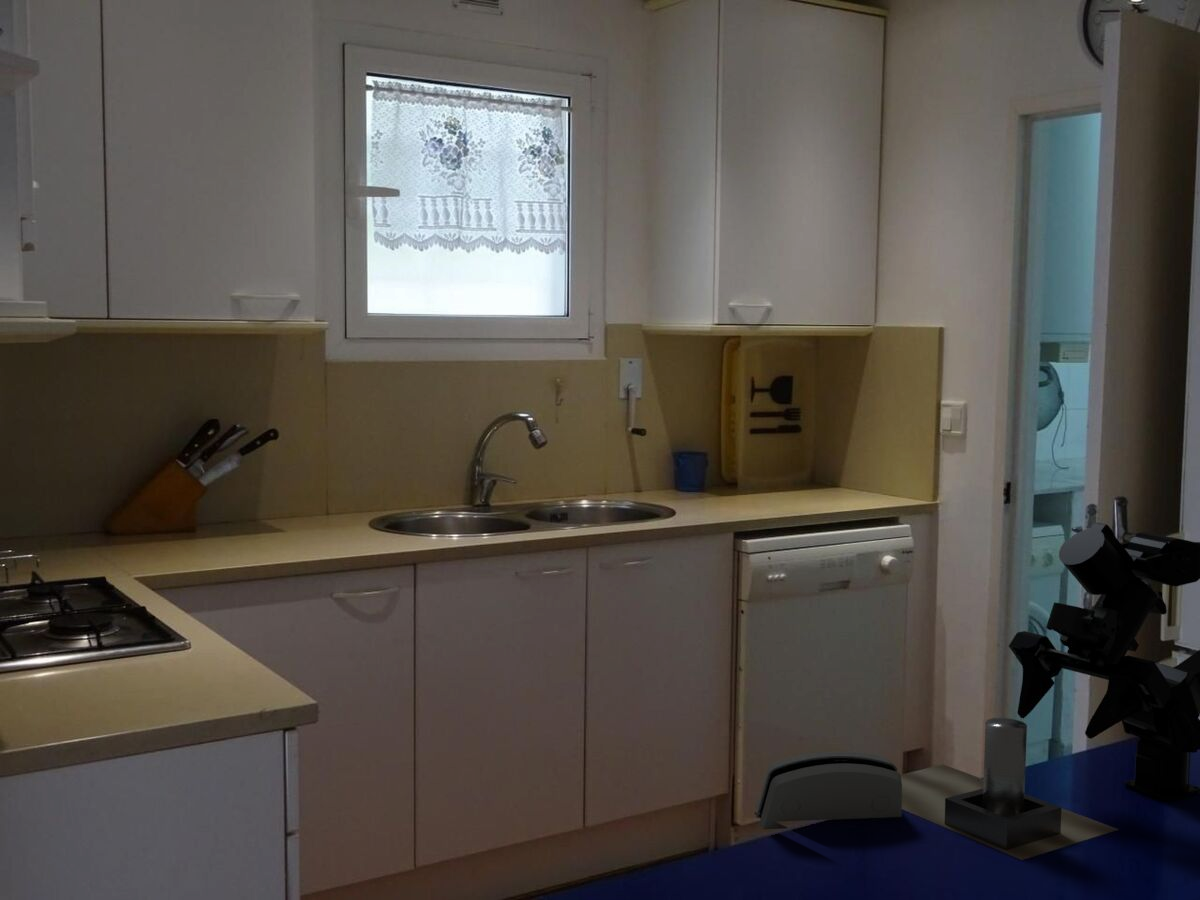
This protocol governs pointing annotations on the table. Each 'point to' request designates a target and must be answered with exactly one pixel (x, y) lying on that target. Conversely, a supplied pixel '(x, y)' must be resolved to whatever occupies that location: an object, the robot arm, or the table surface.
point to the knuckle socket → (1003, 820)
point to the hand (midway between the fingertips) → (1053, 725)
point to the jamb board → (940, 782)
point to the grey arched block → (829, 788)
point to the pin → (1004, 766)
